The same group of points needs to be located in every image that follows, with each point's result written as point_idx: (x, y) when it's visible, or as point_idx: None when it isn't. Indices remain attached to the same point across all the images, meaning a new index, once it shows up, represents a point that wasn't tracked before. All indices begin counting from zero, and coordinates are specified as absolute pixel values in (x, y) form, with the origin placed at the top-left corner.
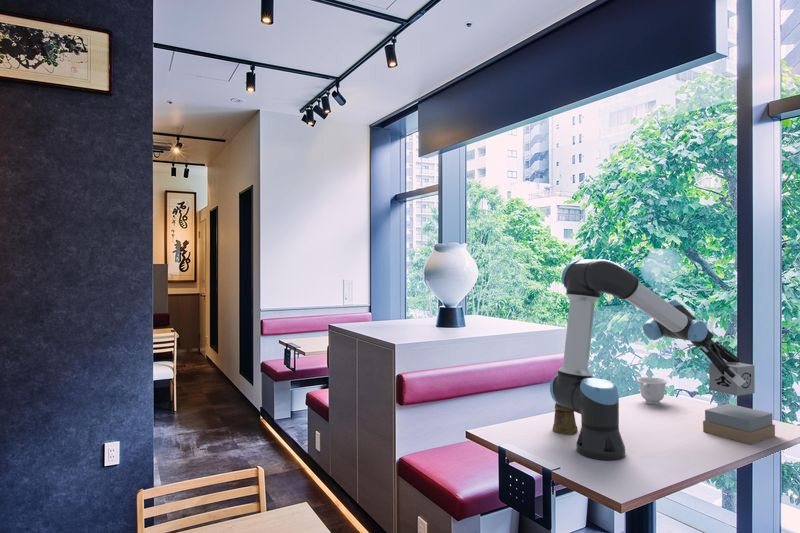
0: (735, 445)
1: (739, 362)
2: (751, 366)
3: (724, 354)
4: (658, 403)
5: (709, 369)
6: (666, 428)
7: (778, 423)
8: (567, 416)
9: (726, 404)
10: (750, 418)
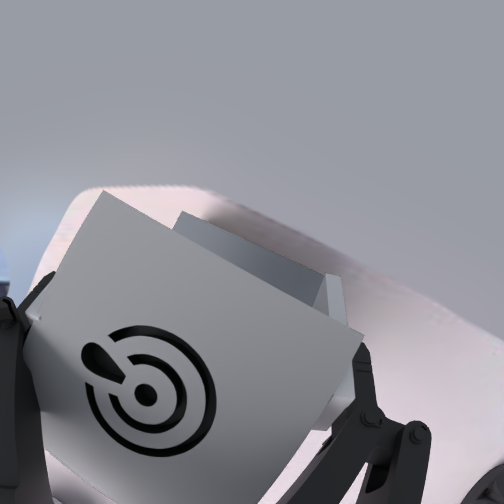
0: (350, 322)
1: (33, 315)
2: (141, 213)
3: (28, 466)
4: (57, 501)
5: None
6: (285, 492)
7: (68, 221)
8: None
9: None
10: (304, 279)
